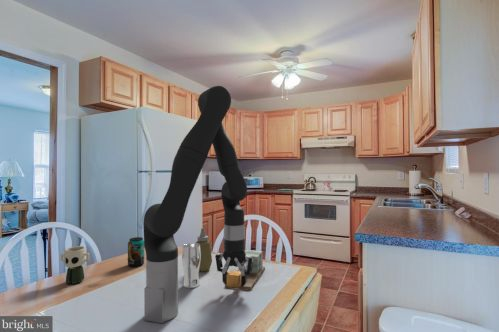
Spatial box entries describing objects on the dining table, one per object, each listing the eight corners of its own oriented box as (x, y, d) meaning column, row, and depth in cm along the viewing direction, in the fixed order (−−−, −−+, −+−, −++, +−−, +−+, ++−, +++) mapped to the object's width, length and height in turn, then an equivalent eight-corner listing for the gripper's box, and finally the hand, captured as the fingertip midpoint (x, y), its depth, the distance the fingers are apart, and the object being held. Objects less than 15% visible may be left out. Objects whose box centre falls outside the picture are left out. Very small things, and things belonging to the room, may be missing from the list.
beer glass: (196, 289, 104) (196, 248, 104) (178, 288, 105) (178, 247, 105) (203, 282, 111) (203, 243, 111) (186, 280, 112) (186, 242, 112)
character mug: (55, 285, 107) (55, 251, 108) (66, 278, 115) (66, 246, 115) (84, 285, 108) (84, 251, 108) (94, 278, 115) (94, 245, 115)
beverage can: (124, 266, 128) (124, 240, 128) (134, 261, 135) (134, 236, 135) (137, 268, 126) (137, 241, 126) (147, 263, 133) (147, 237, 133)
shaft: (238, 287, 98) (238, 275, 98) (226, 285, 100) (226, 274, 100) (255, 266, 119) (255, 256, 119) (245, 265, 121) (245, 255, 121)
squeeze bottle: (210, 273, 120) (210, 230, 120) (191, 273, 120) (191, 230, 120) (213, 266, 128) (213, 226, 128) (195, 266, 128) (195, 226, 128)
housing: (250, 290, 103) (250, 268, 103) (224, 287, 106) (224, 265, 106) (265, 269, 124) (265, 251, 124) (243, 267, 127) (243, 249, 127)
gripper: (211, 238, 99) (211, 286, 99) (250, 241, 95) (251, 291, 95) (219, 233, 107) (219, 278, 106) (256, 235, 102) (256, 282, 102)
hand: (234, 284), depth 101 cm, fingers open, 6 cm apart
